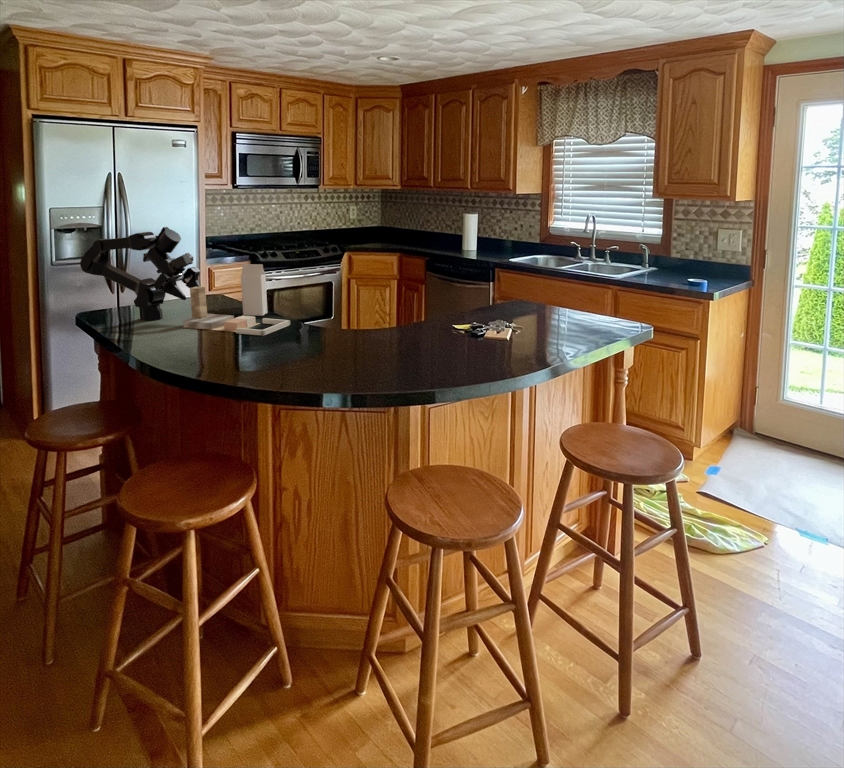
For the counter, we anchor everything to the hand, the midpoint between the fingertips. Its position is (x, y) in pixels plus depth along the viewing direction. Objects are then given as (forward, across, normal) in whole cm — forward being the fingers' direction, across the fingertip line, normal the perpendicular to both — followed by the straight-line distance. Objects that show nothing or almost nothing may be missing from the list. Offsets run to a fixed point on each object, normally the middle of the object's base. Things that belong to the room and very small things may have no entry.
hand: (194, 297), depth 251 cm
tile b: (+18, -3, -6) cm, 20 cm away
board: (+14, 0, 0) cm, 14 cm away
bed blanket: (+10, 0, +3) cm, 10 cm away
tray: (+26, 0, -11) cm, 28 cm away
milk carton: (+14, +21, +1) cm, 26 cm away
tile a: (+18, +3, -6) cm, 19 cm away
